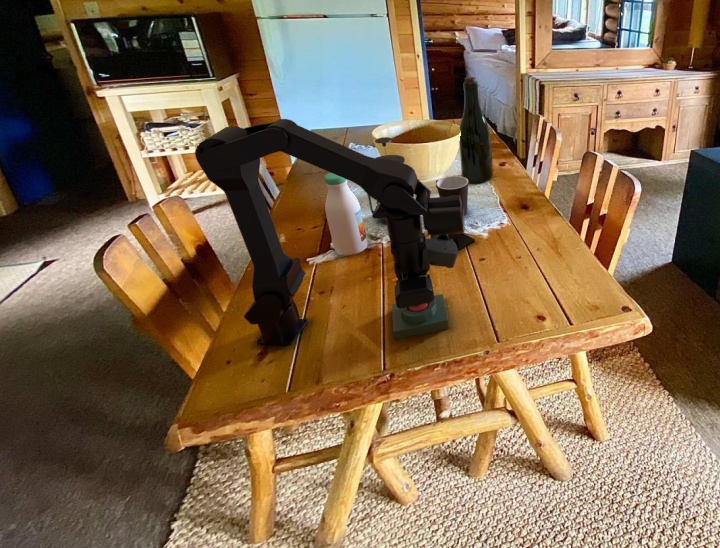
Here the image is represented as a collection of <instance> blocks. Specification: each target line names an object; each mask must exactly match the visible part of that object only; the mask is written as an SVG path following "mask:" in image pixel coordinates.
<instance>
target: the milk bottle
mask: <svg viewBox="0 0 720 548" xmlns="http://www.w3.org/2000/svg"><path fill="white" fill-rule="evenodd" d="M323 179H324V182H325V186H326V187H327V195H326V199H325V203H324V204H325V205H324V210H325V211H324V212H325V216H326V220H327V221H326V222H327V225H328V229H329V232H330V237H331V241H332V244H333V248H334V251H335V253H336V254H338V255H339V256H354V255H356V254H359V253H362V252H363V251H365V250H366V249H367V247H368V245H369V242H368V241H369V240H368V236H367V231H366V227H365V221H364V218H363V217H364V216H363V214H362V209H361V206H360V205H361V204H360V202H359V200H358V198H357V197H356V195H355V194H354V193H353V191H352V190H351V189H350V187H349V185H348V181H349V180H347V179H345V178H342V177H340V176H338V175H335V174H333V173H331V172H328V173H326V174H325V175H324V178H323Z"/></svg>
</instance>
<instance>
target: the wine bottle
mask: <svg viewBox="0 0 720 548" xmlns="http://www.w3.org/2000/svg"><path fill="white" fill-rule="evenodd" d="M463 91H464V93H463V94H464V108H463V114H462V117H461V121H460V123H459V128H460V130H461V136H460V141H459V140H458V145H459V146H458V147H459V159H460V161H459V162H460V172H461V176H462V177H465V178H467V179H468V183H470V184H481V183H486V182H488V181H490V180H491V179H492V178H493V177H494V164H493V161H494V160H493V150H492V139H491V131H490V127H489V124H488V122H487V119H486V117H485V116H484V113H483V110H482V107H481V101H480V96H479V83H478V81H477V78H476V77H475V76H467V77H464V82H463Z"/></svg>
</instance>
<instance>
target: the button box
mask: <svg viewBox="0 0 720 548" xmlns="http://www.w3.org/2000/svg"><path fill="white" fill-rule="evenodd" d="M391 315H392V317H391V319H392V334H393V339H394V340H398V339H402V338H406V337H407V338H408V337H411V336H414V337H416V336H421V335H425V334H430V333H434V332H438V331H443V330H448V329H450V326H449V325H450V324H449V317H448V313H447V309H446V304H445V297H444V294H443V293H440V294H434V300H433V301H432V302H430V303H428V307H427V308H426V309H425V310H423V311H420V312H410V311H409V307H406V308H401V309H400V308H398V307H397V305H396V303H392V304H391Z"/></svg>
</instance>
